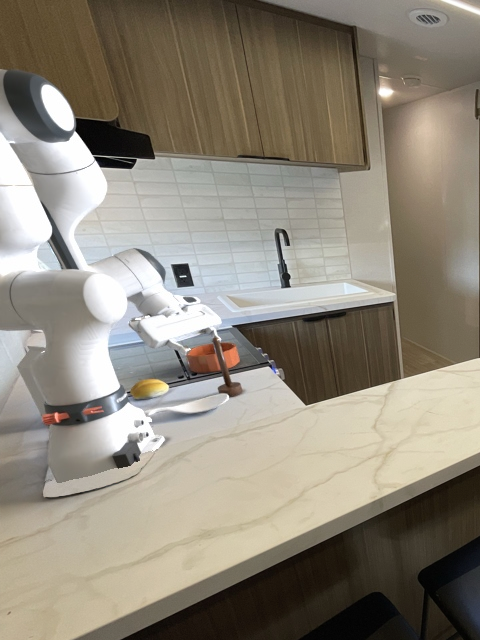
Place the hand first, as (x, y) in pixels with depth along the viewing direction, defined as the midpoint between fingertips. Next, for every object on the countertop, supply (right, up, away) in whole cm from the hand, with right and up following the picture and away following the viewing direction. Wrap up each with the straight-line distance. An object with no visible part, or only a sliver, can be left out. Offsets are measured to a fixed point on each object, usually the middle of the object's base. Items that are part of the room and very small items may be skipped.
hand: (203, 347), depth 111 cm
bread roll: (-18, -13, +4) cm, 23 cm away
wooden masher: (+5, -13, +4) cm, 15 cm away
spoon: (-4, -20, -11) cm, 23 cm away
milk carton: (-28, -19, -8) cm, 34 cm away
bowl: (-14, -5, +25) cm, 29 cm away
